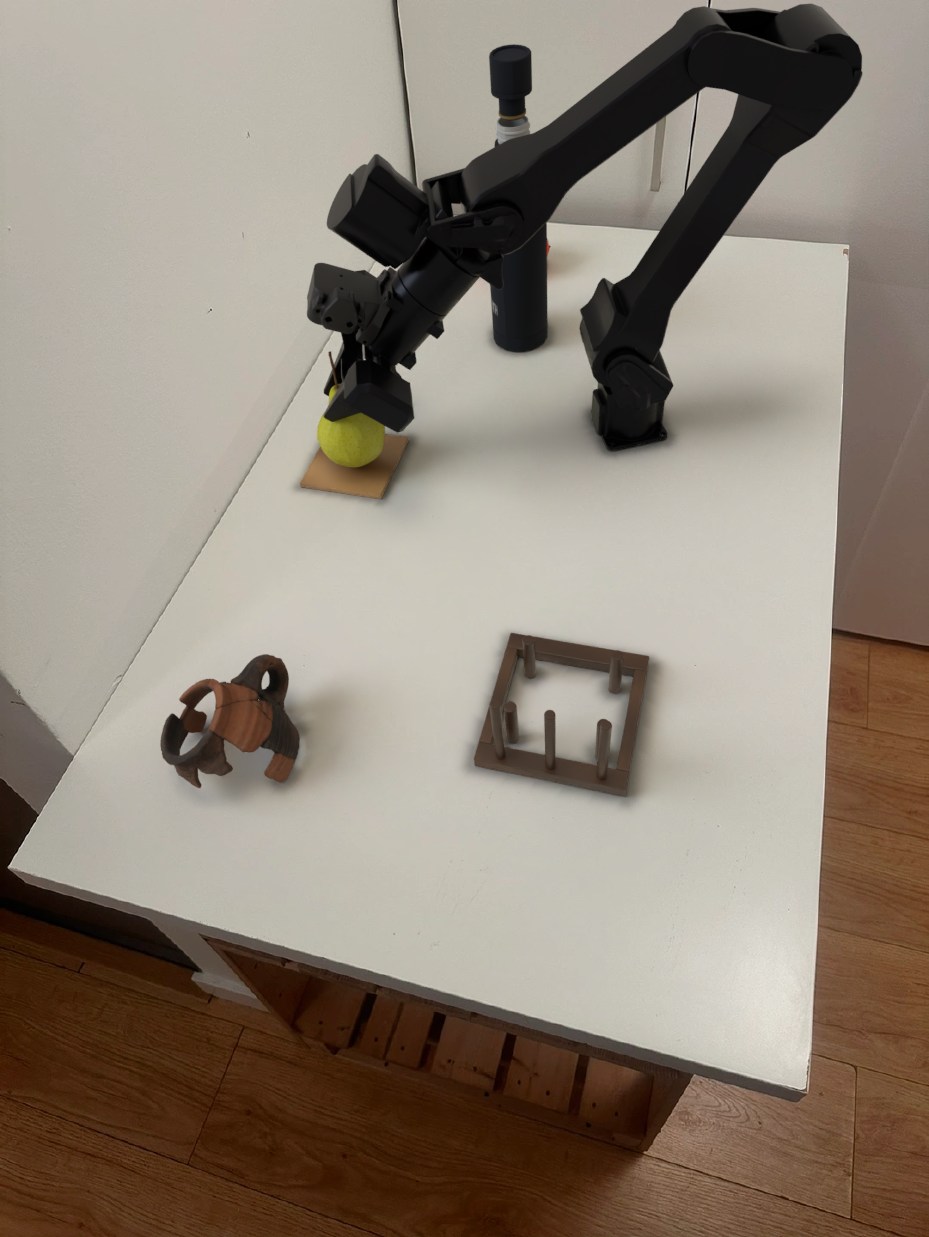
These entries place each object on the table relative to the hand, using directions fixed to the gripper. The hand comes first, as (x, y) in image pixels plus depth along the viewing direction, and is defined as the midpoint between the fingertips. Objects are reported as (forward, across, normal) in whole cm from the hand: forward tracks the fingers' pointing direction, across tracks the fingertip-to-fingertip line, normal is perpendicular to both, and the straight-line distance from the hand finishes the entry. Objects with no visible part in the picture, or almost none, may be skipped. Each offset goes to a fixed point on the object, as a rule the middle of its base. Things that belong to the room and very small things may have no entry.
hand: (327, 406), depth 85 cm
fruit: (+4, +1, +6) cm, 8 cm away
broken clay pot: (+12, +32, 0) cm, 34 cm away
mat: (+5, 0, +6) cm, 8 cm away
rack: (-7, +34, +18) cm, 39 cm away
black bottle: (-10, -18, +21) cm, 29 cm away
